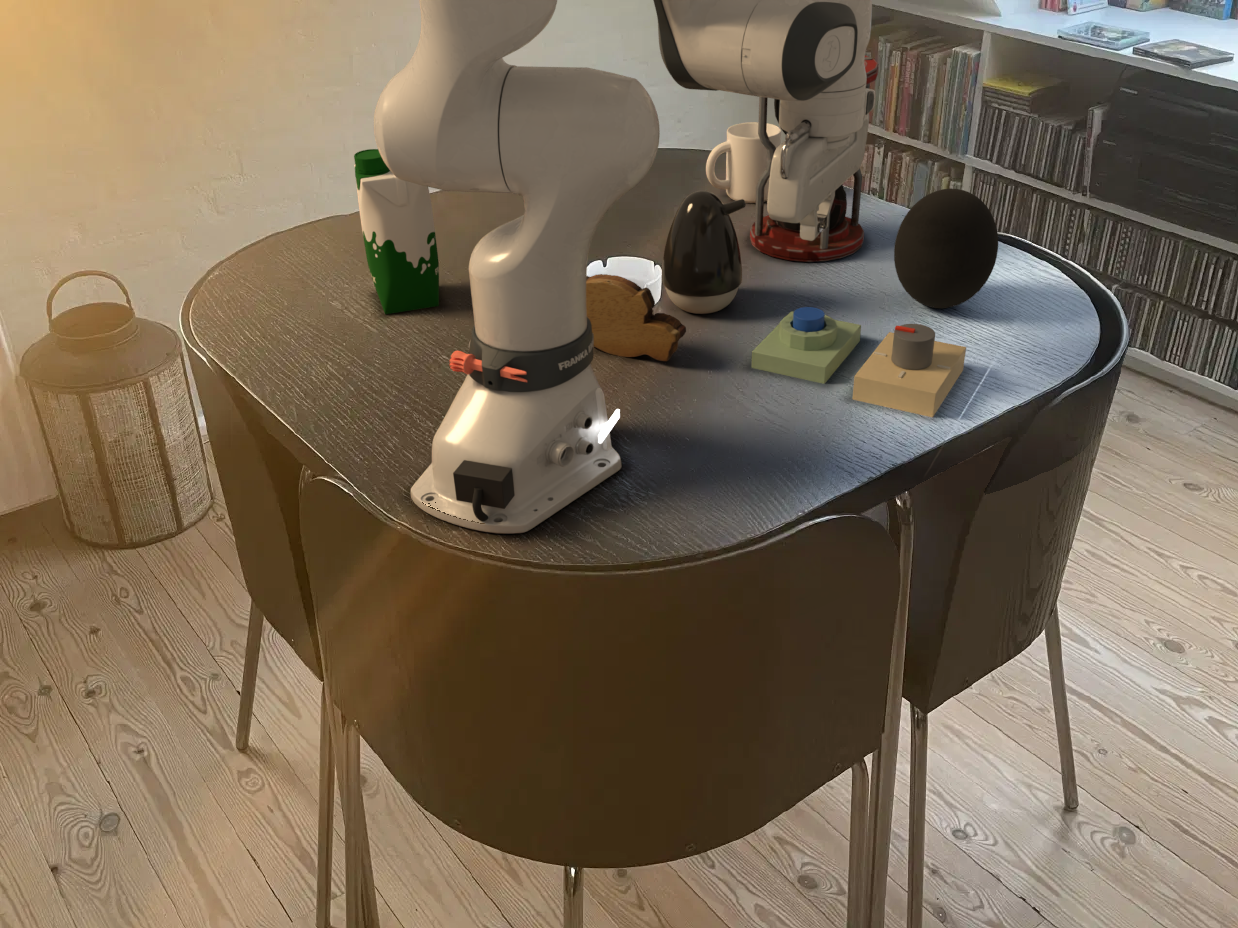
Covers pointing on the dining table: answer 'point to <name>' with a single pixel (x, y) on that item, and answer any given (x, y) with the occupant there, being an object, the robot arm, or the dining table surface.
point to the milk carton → (397, 236)
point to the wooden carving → (629, 319)
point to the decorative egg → (946, 248)
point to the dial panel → (908, 379)
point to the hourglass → (785, 236)
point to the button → (808, 319)
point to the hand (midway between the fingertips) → (813, 234)
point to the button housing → (806, 349)
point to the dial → (913, 346)
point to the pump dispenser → (702, 254)
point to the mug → (743, 160)
